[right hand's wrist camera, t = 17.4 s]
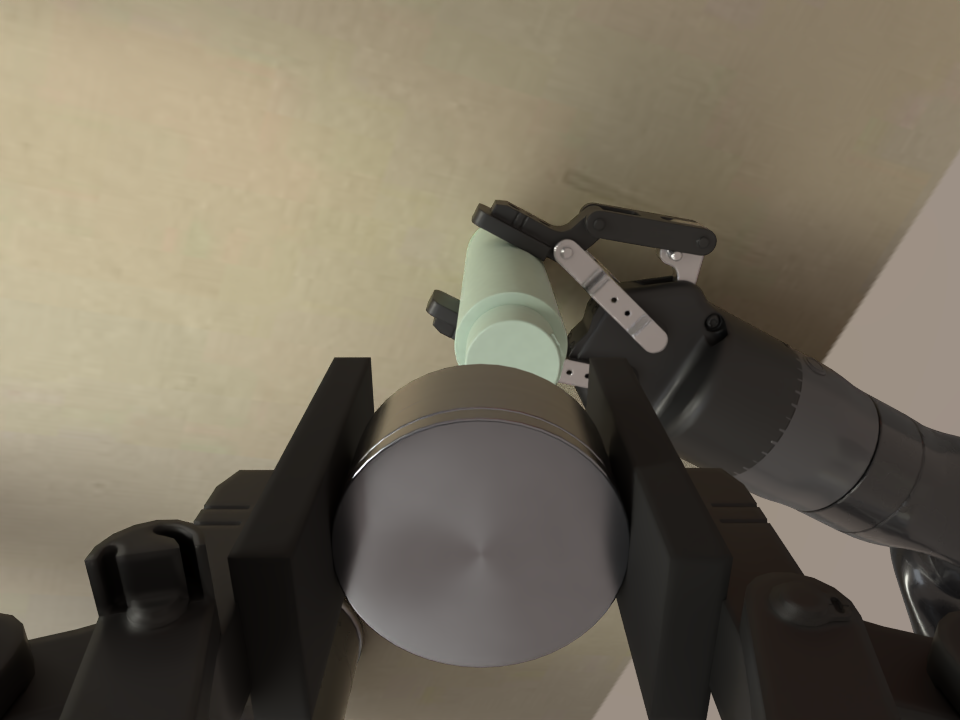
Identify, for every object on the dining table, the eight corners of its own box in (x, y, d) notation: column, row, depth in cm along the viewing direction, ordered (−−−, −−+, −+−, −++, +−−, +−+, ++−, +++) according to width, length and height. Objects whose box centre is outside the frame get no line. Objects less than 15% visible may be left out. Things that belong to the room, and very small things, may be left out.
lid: (658, 438, 12) (693, 506, 10) (524, 617, 14) (531, 706, 12) (428, 315, 11) (416, 362, 9) (311, 520, 13) (281, 598, 11)
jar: (491, 303, 40) (493, 440, 24) (452, 244, 38) (428, 347, 23) (552, 266, 39) (595, 383, 23) (514, 205, 38) (534, 283, 22)
